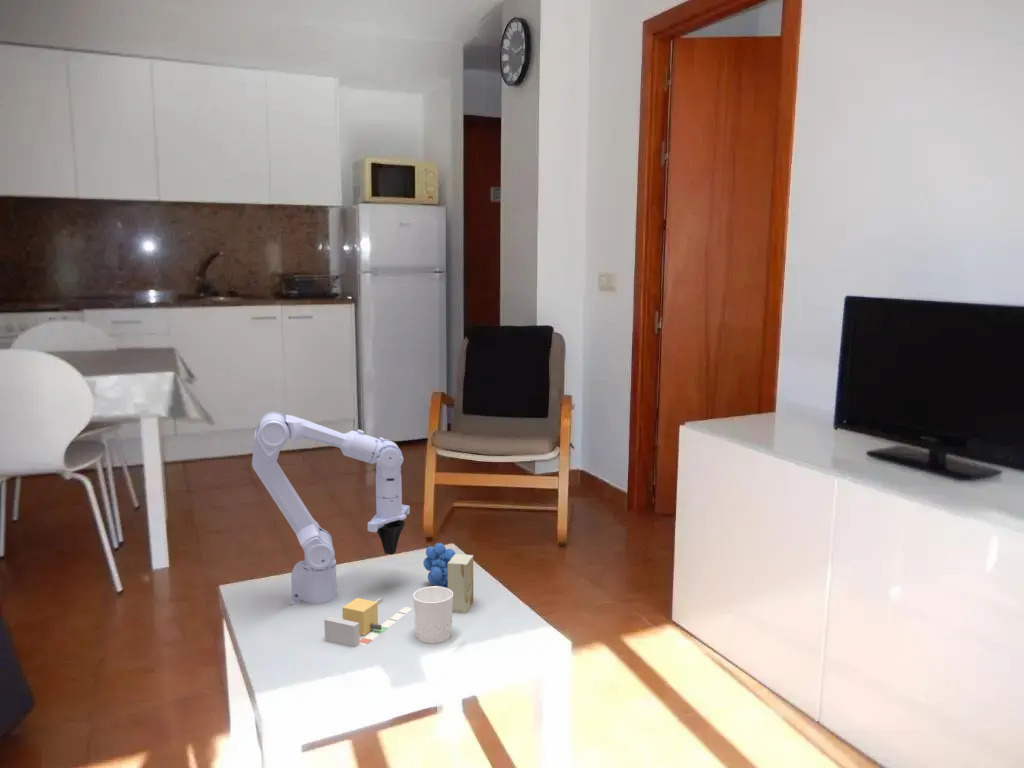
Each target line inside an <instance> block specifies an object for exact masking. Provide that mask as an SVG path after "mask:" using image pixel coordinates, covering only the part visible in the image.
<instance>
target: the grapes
mask: <svg viewBox="0 0 1024 768" xmlns="http://www.w3.org/2000/svg"><path fill="white" fill-rule="evenodd" d="M455 554H457V553H456V551H455V550H453V549H451V548H446V546H445V545H444V544H443V543H441V542H437V543H435V544H434V546H428V547H426V549H425V555H426V557H425V558H424V560H423V568H424V569H425V570H426V571H428V574H427V580H428V582H429V583H430V584H431V585H434V586H439V587H445V588H448V562H449V561H450V560H451V558H452V557H453V556H454V555H455Z"/></svg>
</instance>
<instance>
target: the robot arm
mask: <svg viewBox="0 0 1024 768" xmlns="http://www.w3.org/2000/svg"><path fill="white" fill-rule="evenodd" d="M254 431H255V432H254V436H253V437H254V438H253V448H252V457H251V459H252V460H251V466H252V469H253V470H254V472H255V473H256V475H257V477H258V478H259V480H260V481H261V483H262V484H263V486H264V487H265V488H266V490H267V492H268V494H270V497H271V498H272V500H273V501H274V503H275V504H276V506H277V507H278V509H279V510H280V512H281V514H282V515H283V516H284V518H285V519H286V521H287V523H288V524H289V526H290V527H291V529H292V530H293V532H294V533H295V536H296V539H297V540H298V542H299V545H300V546H301V547H300V548H302V550H303V552H304V553H303V554H304V559H303V560H299V561H298V562H297V563H296V564H295V565H293V566H294V567H293V568H292V571H291V577H290V579H291V601H290V602H289V605H290V606H293V605H295V604H297V602H300V601H303V602H306V603H309V604H315V605H317V604H326V603H329V602H332V601H334V600H336V598H337V597H338V589H337V588H338V584H337V583H338V581H337V560H336V558H335V557H336V556H335V555H336V554H335V553H336V552H335V548H334V546H333V538H332V535H331V533H330V532H329V531H327V530H326V529H323V528H322V527H321V526H320V525H319V523H318V522H317V521H316V520H315V518H313V515H311V513H310V511H309V509H308V508H307V506H306V505H305V504H304V502H303V501H302V499H301V497H300V495H299V494H298V492H297V491H296V489H295V488H294V487H293V485H292V483H291V482H290V480H289V478H288V477H287V476H286V473H285V472H284V471H283V469H282V467H281V466H280V464H279V463H278V461H277V460H278V459H279V455H280V451H281V450H282V449H283V448H284V446H285V445H286V443H287V442H288V441H289V438H290V444H292V443H296V442H298V441H301V440H304V439H306V440H310V441H313V442H316V443H321V444H323V445H327V446H332V447H334V448H335V447H336V448H339V449H340V450H341V453H342V454H343V456H344V457H345V456H346V457H348V458H352V459H355V460H357V461H362V462H364V463H368V464H370V465H371V464H376V466H375V467H376V468H375V469H376V470H375V471H376V474H375V503H376V505H375V509H376V513H375V515H374V516H373V517H372V519H371V520H370V521H368V522H367V532H371V533H377V535H378V536H379V539H380V541H381V544H382V545H381V546H382V548H383V551H384V554H387V555H394V554H395V553H396V552H397V548H398V543H399V539H400V535H401V533H402V530H403V529H404V527H405V526H406V525H405V522H406V521H404V520H405V519H407V516H408V515H410V511H411V509H410V505H408V504H407V505H406V504H403V503H402V502H403V490H402V479H403V478H402V473H401V471H402V467H401V466H402V464H403V463H404V456H403V452H402V450H401V449H400V448H399V446H398V444H397V443H395V442H393V441H392V440H391V439H389V438H388V439H385V438H384V437H381V436H380V437H379V438H377V437H374V436H371V435H368V434H365V432H364V430H362V429H357V431H356V430H350V431H348V432H345V433H342V432H340V431H338V430H334V429H332V428H329V427H326V426H324V425H320V424H319V423H318V424H317V423H315V422H313V421H311V420H307V419H304V418H300V417H297V416H294V415H290V414H285V415H284V414H283V413H281V412H278V411H271V412H267V413H265V414H263V415H262V417H261V418H260V419H259V421H258V425H257V426H256V428H255V430H254Z"/></svg>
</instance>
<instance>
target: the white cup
mask: <svg viewBox="0 0 1024 768" xmlns="http://www.w3.org/2000/svg"><path fill="white" fill-rule="evenodd" d="M412 599H413V602H412V603H413V614H414V615H413V616H414V617H413V618H414V628H415V637H416V639H417V640H418V641H419V642H422V643H425V644H439V643H443V642H446V641H447V640H448V639H450V637H451V630H452V625H453V613H452V609H453V592H452V591H451V590H450V589H448V588H445V587H439V586H437V585H434V586H433V585H432V586H425V587H422V588H419V589H416V591H414V592H413V594H412Z"/></svg>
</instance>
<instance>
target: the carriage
mask: <svg viewBox="0 0 1024 768" xmlns="http://www.w3.org/2000/svg"><path fill="white" fill-rule="evenodd" d="M375 601H376V600H369V599H364V598H359V597H356V598H355V599H353V600H352V601H350V602H349V603H347V604H345V605H344V606H343V607H342V609H341V610H342V619H343V620H348V621H353V622H357V623H359V636H364V637H365V636H367V635H368V634H369V633H371V632H372V631H373V630H375V629H376V630H381V625H382V624H379V610H378V609H379V607H378V606H379V604H378V602H375Z"/></svg>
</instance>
